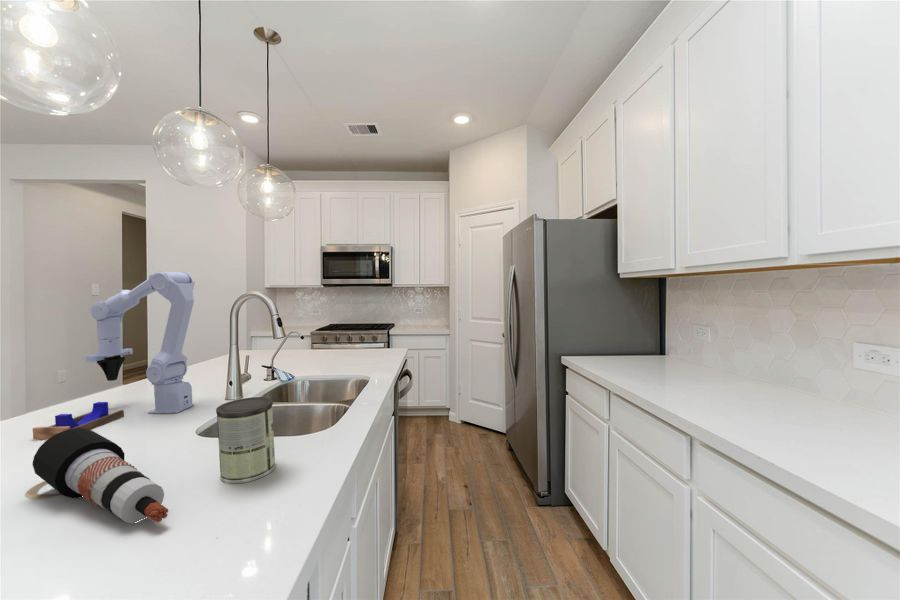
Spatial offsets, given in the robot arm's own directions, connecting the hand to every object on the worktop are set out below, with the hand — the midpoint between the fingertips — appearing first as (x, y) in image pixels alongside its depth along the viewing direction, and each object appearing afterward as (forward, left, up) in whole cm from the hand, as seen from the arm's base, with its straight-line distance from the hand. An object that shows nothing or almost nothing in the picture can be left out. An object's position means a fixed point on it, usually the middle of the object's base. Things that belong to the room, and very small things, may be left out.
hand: (112, 380), depth 125 cm
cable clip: (-7, +18, -10) cm, 22 cm away
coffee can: (-69, +44, -10) cm, 82 cm away
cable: (-50, +55, -10) cm, 75 cm away
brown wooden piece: (-6, +16, -9) cm, 20 cm away
